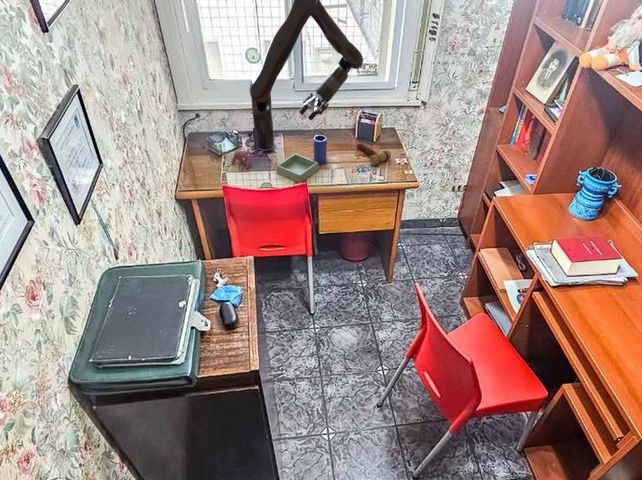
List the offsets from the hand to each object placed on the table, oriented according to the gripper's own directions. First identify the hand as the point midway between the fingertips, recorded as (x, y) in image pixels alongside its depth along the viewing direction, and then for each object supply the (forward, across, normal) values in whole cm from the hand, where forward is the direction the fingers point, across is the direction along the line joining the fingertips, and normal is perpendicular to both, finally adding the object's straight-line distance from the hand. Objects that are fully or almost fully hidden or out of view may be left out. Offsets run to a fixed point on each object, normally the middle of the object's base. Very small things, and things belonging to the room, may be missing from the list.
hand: (304, 116), depth 212 cm
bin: (+20, +4, +14) cm, 25 cm away
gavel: (-11, +8, +37) cm, 39 cm away
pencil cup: (+8, +2, +21) cm, 23 cm away
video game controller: (+35, -14, 0) cm, 38 cm away
